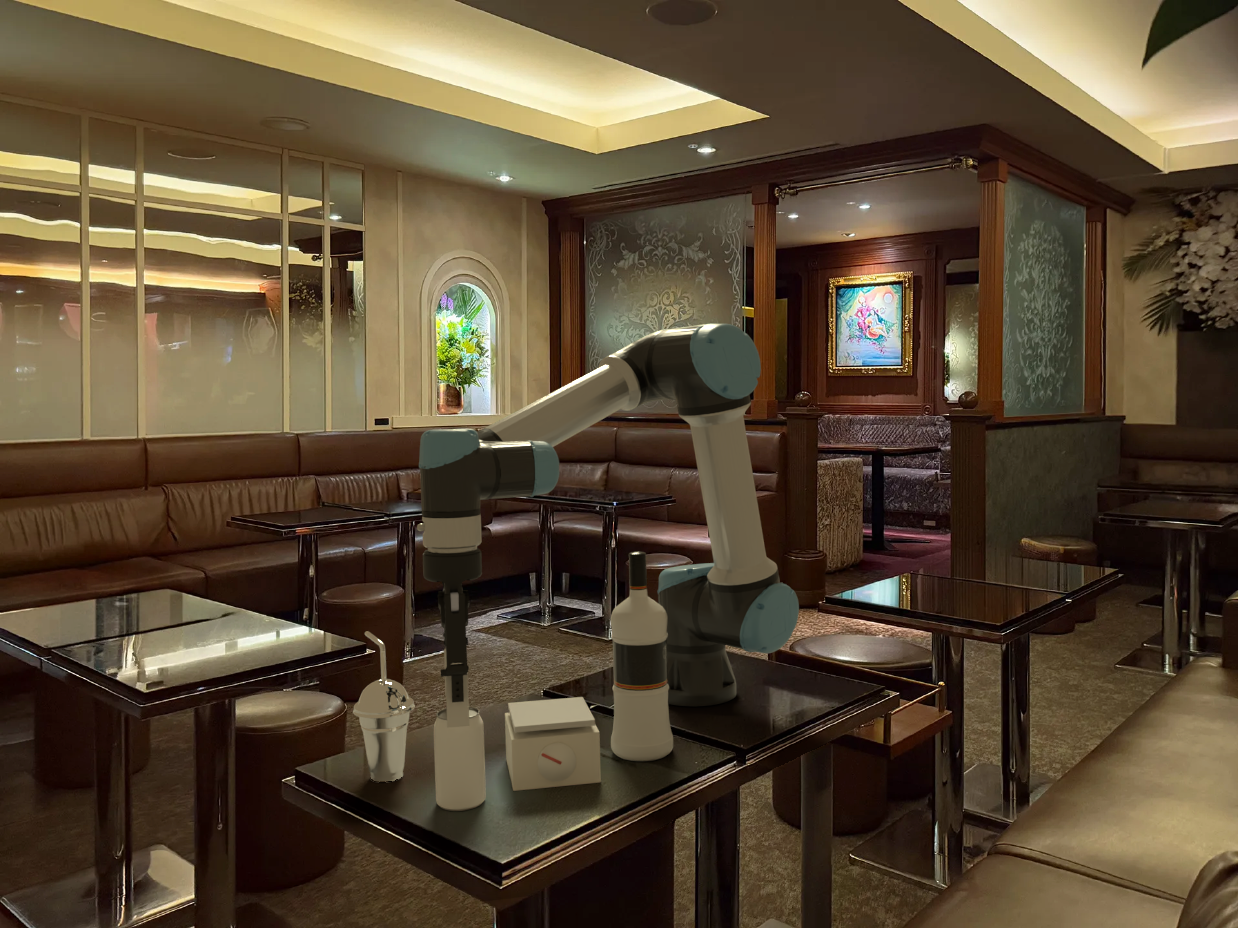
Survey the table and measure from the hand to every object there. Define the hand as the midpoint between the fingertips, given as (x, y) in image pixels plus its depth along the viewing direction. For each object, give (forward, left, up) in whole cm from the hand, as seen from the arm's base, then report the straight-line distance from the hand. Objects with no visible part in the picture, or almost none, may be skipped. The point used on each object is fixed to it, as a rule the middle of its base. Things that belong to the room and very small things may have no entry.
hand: (456, 709), depth 128 cm
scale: (-13, -8, -12) cm, 20 cm away
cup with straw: (+10, -12, -13) cm, 20 cm away
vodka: (-27, -12, -13) cm, 32 cm away
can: (0, 0, -13) cm, 13 cm away
